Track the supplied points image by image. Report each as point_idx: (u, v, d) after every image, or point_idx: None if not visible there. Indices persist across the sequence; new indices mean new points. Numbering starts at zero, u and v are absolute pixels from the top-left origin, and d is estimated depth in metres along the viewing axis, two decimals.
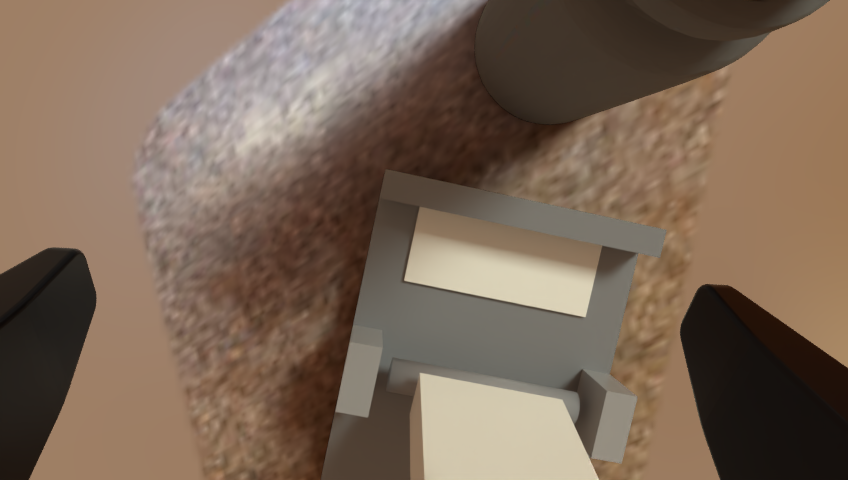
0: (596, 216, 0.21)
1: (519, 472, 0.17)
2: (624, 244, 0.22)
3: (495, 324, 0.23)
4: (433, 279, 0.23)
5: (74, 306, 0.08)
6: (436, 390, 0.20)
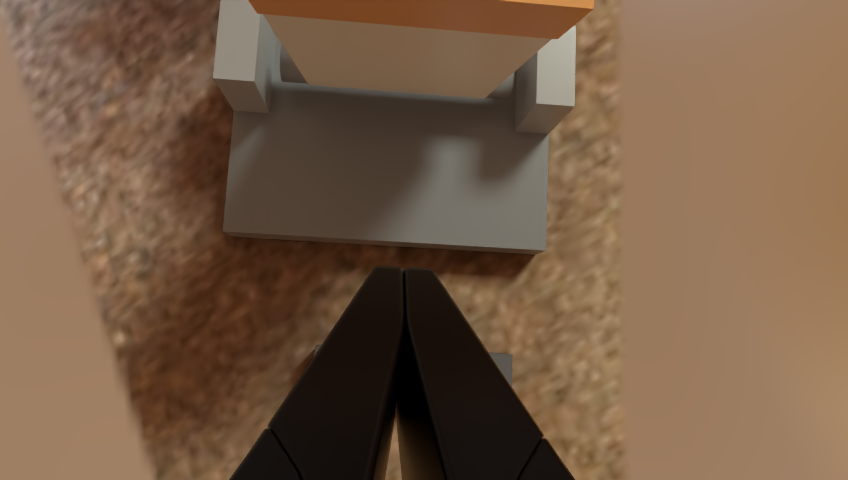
0: None
1: None
2: None
3: None
4: None
5: None
6: None
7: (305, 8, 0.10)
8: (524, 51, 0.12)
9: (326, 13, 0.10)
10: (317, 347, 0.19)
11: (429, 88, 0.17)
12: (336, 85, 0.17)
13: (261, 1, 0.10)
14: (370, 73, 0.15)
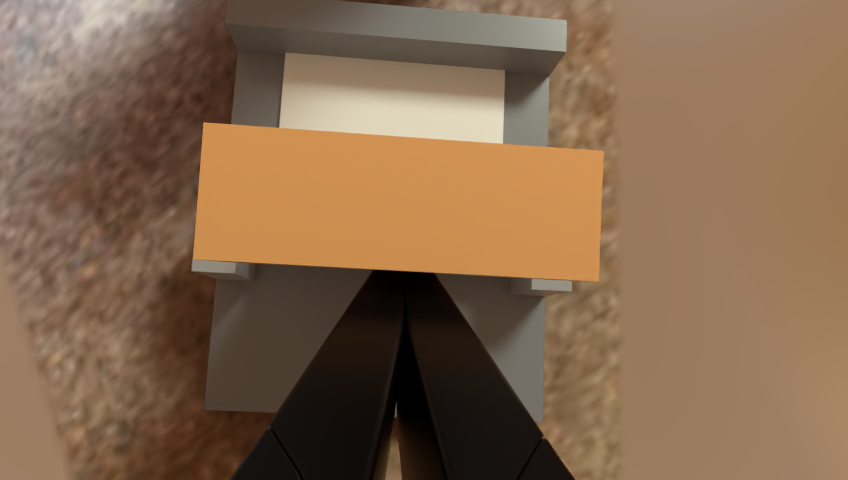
0: (482, 14, 0.19)
1: None
2: (522, 41, 0.18)
3: None
4: None
5: None
6: None
7: None
8: None
9: None
10: None
11: None
12: None
13: None
14: None
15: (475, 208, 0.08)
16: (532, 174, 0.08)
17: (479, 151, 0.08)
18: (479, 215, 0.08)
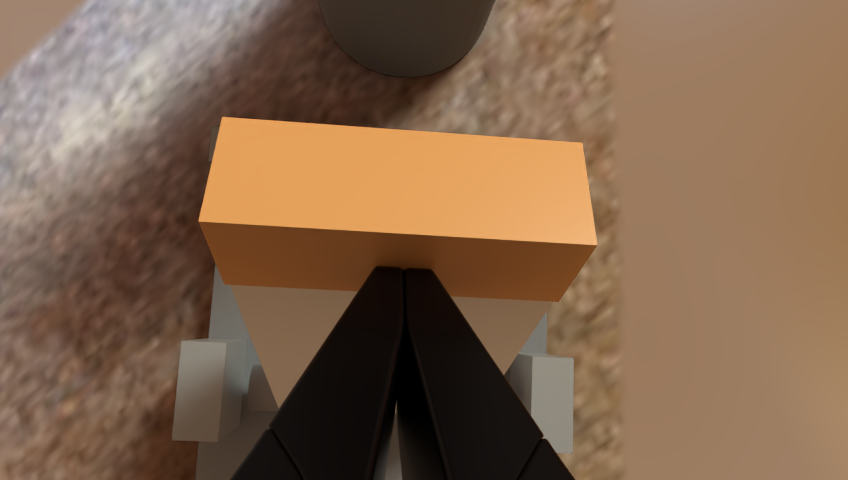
0: None
1: None
2: None
3: None
4: None
5: None
6: None
7: (277, 270, 0.09)
8: (521, 328, 0.11)
9: (301, 277, 0.09)
10: None
11: None
12: None
13: (229, 262, 0.09)
14: None
15: (471, 183, 0.08)
16: (520, 158, 0.09)
17: (470, 141, 0.09)
18: (475, 188, 0.08)
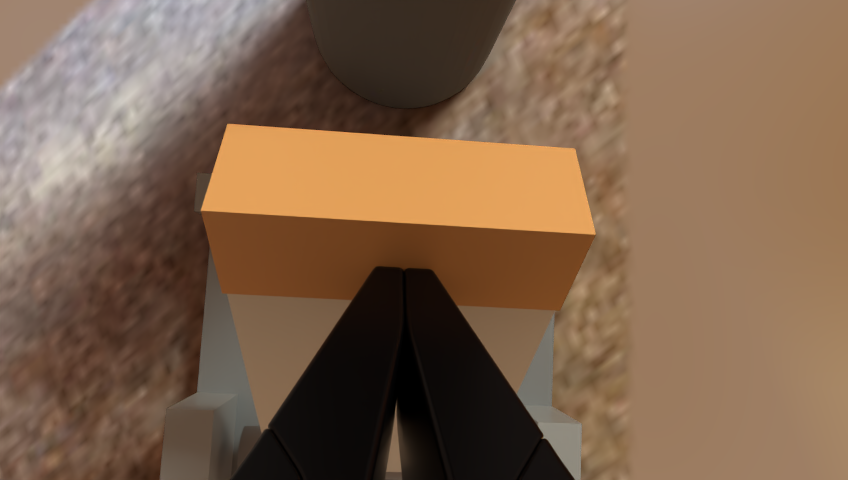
0: None
1: None
2: None
3: None
4: None
5: None
6: None
7: (277, 274, 0.09)
8: (523, 348, 0.11)
9: (301, 283, 0.09)
10: None
11: None
12: None
13: (229, 264, 0.09)
14: None
15: (469, 180, 0.09)
16: (516, 160, 0.09)
17: (467, 146, 0.09)
18: (473, 185, 0.09)
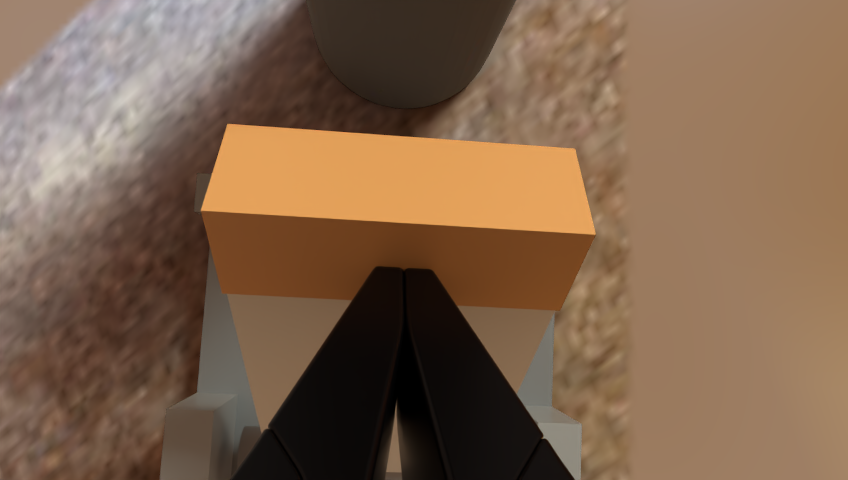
0: None
1: None
2: None
3: None
4: None
5: None
6: None
7: (276, 274, 0.09)
8: (523, 348, 0.11)
9: (301, 283, 0.09)
10: None
11: None
12: None
13: (229, 264, 0.09)
14: None
15: (469, 180, 0.09)
16: (516, 160, 0.09)
17: (467, 146, 0.09)
18: (473, 185, 0.09)
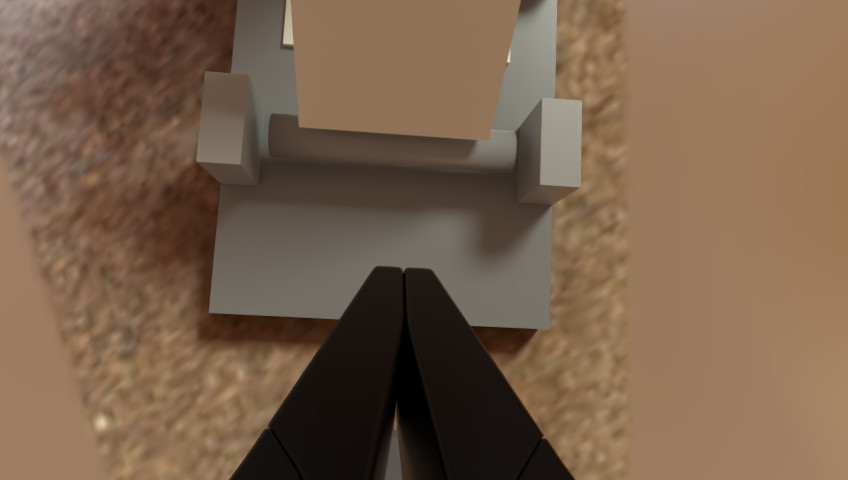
0: None
1: None
2: None
3: None
4: None
5: None
6: None
7: None
8: None
9: None
10: None
11: (430, 106, 0.16)
12: (329, 121, 0.16)
13: None
14: (370, 49, 0.14)
15: None
16: None
17: None
18: None
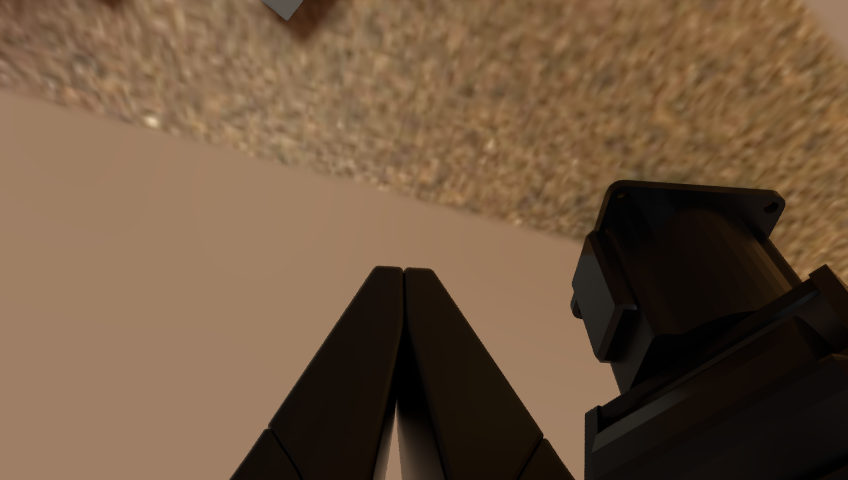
0: None
1: None
2: None
3: None
4: None
5: None
6: None
7: None
8: None
9: None
10: None
11: None
12: None
13: None
14: None
15: None
16: None
17: None
18: None
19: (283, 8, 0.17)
